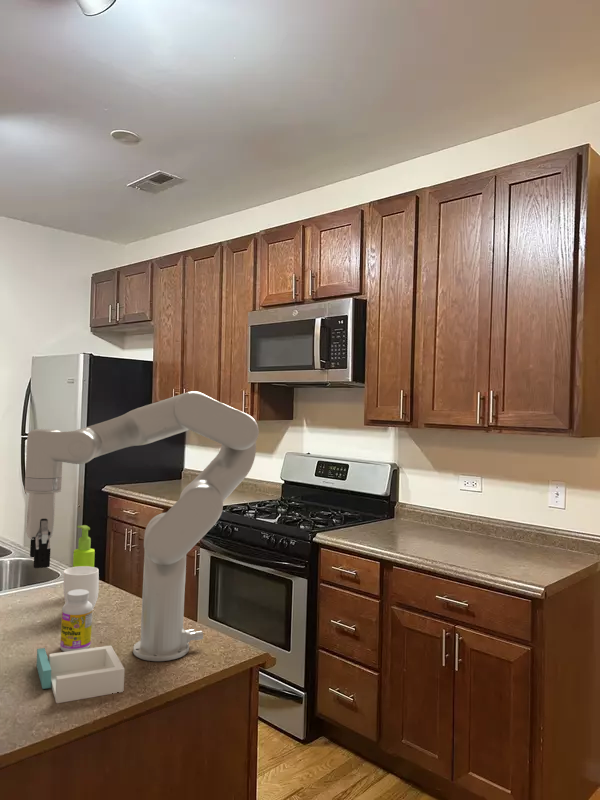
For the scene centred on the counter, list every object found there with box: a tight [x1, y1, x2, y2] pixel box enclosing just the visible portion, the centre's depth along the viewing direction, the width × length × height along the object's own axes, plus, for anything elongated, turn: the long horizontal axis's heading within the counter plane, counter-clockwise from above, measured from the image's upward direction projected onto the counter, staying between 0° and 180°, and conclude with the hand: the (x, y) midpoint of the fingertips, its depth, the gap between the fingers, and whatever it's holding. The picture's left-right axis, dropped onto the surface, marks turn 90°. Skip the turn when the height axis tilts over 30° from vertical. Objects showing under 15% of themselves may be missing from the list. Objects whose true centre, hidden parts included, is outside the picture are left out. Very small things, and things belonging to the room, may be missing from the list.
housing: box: [48, 644, 125, 704], centre depth 127 cm, size 12×13×4 cm
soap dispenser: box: [72, 524, 96, 567], centre depth 184 cm, size 6×7×20 cm
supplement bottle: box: [60, 589, 94, 652], centre depth 145 cm, size 7×7×13 cm
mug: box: [63, 566, 100, 612], centre depth 168 cm, size 12×9×12 cm
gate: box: [35, 647, 52, 690], centre depth 129 cm, size 2×12×4 cm, turn 28°
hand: (39, 561), depth 140 cm, fingers open, 9 cm apart
